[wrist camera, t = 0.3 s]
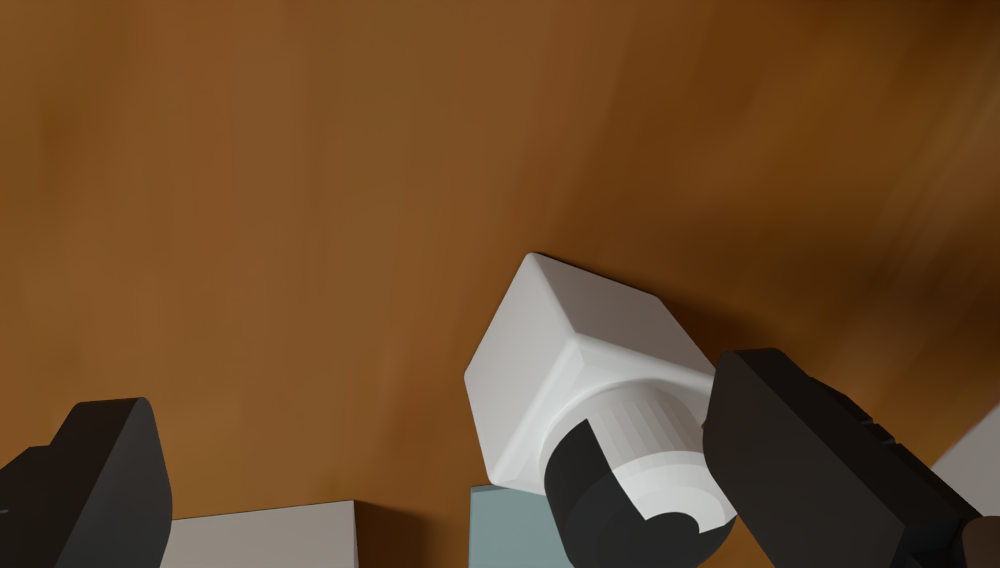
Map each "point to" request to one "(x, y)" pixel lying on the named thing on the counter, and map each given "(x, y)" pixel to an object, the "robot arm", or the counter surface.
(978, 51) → the counter surface
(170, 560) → the eye block
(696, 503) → the medicine bottle
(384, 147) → the counter surface
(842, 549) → the robot arm
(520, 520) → the mat
